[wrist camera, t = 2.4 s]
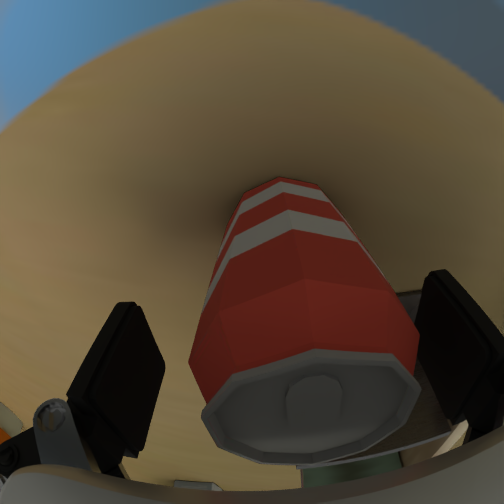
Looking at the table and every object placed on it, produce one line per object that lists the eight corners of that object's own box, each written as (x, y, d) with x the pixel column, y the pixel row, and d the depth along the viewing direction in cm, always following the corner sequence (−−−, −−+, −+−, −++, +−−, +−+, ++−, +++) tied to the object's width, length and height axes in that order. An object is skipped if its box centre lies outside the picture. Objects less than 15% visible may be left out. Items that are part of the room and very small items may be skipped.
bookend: (423, 289, 18) (484, 383, 10) (408, 345, 21) (448, 435, 12) (285, 307, 19) (296, 428, 11) (289, 363, 21) (296, 469, 13)
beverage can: (334, 168, 15) (472, 301, 4) (338, 272, 18) (401, 452, 7) (221, 181, 15) (136, 343, 5) (240, 283, 18) (218, 474, 7)
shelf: (435, 314, 19) (490, 407, 11) (381, 445, 29) (394, 504, 21) (299, 335, 20) (313, 457, 11) (299, 458, 30) (302, 521, 22)
